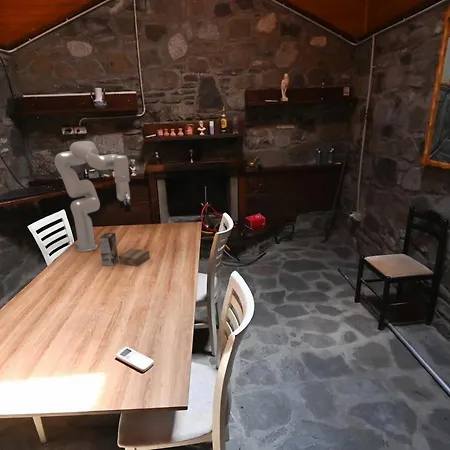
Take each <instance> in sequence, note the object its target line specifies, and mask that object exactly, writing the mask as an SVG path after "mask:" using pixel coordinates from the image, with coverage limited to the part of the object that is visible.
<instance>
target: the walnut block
mask: <svg viewBox="0 0 450 450" xmlns="http://www.w3.org/2000/svg"><path fill="white" fill-rule="evenodd" d="M150 259H151V256H150V250H147V249H146V250H145V249H139V248H138V249H137V248H130V249H129V250H127V251H125V252H123V253H121V254H120V255H118V262H119V264H120V265H124V266H125V265H126V266H131V267H140V266H141V265H142V264H144V263H145V262H147V261H149V260H150Z"/></svg>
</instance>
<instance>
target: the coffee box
mask: <svg viewBox="0 0 450 450" xmlns="http://www.w3.org/2000/svg"><path fill="white" fill-rule="evenodd" d="M98 240H99V241H98V243H99V248H100V249H99V250H100V255H101V264H102V266H104V267H105V266H110V267H111V266H114V265H115V264H116V263H117V262H118V261H119V255H118V253H119V252H118V245H117V238H116V232H108V233H107V232H105V233H103V234H102V235H101V236H100V237H99V238H98Z"/></svg>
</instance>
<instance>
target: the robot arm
mask: <svg viewBox="0 0 450 450" xmlns="http://www.w3.org/2000/svg"><path fill="white" fill-rule="evenodd" d="M86 163H87V164H88V165H89V167H91V168H93V169H95V170H99V171H104V170H105V171H106V170H110V169H111V170H112V169H113V173H114V183H115V185H116V186H115V187H116V198H117V199H118V200H119V203H118V204H119V208H120V209H124V213H130V212H132V209H131V208H132V206H131V201H130V200H131V191H130V185H129V182H131V181H130V180H131V179H130V171H129V160H128V157H127V155H124V154H123V155H122V154H117V153H112V154H111V153H110V154H104V155H103V154H102V155H100V154H99V150H98V149H97V146H96V143H94V142H93V141H91V140H81V141H79V140H78V141H75V142H72V143H71V145H70V146H69V151H62V152H60V153H57V154H56V155H55V158H54V164H55V167H56V170H57V172H58V173H59V175H60V176H61V179H62V181H63V183H64V186H65V189H66V192H67V194H68V196H69V197H70V198H71V199H75V198H77V199H75V200H73V201H72V202H71V204H70V210H71V213H72V216H73V219H74V224H75V231H76V237H77V240H76V241H74V245H75V246H76V245H77V247H76V251H77V252H78V253H79V252H80V253H84V252H85V253H87V252H92V251H94V250H97V249H98V247H99V245H98V244H97V243H95V237H94V230H93V229H94V228H93V227H94V226H93V222H92V221H93V220H92V218H91V217H90V216H89V215H88V214H90V213H94V212H96V211H98V210H99V209H100V206H101V204H100V203H101V202H100V199H99V197H98V195H97V191H96V189H95V185H94V184H93V182H92V181H90V180H89V179H81V180H80V179H79V176H78V173H77V172H76V171H75V170H74V169H73V168H72V166H79V165H84V164H86ZM80 197H82V198H80Z"/></svg>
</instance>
